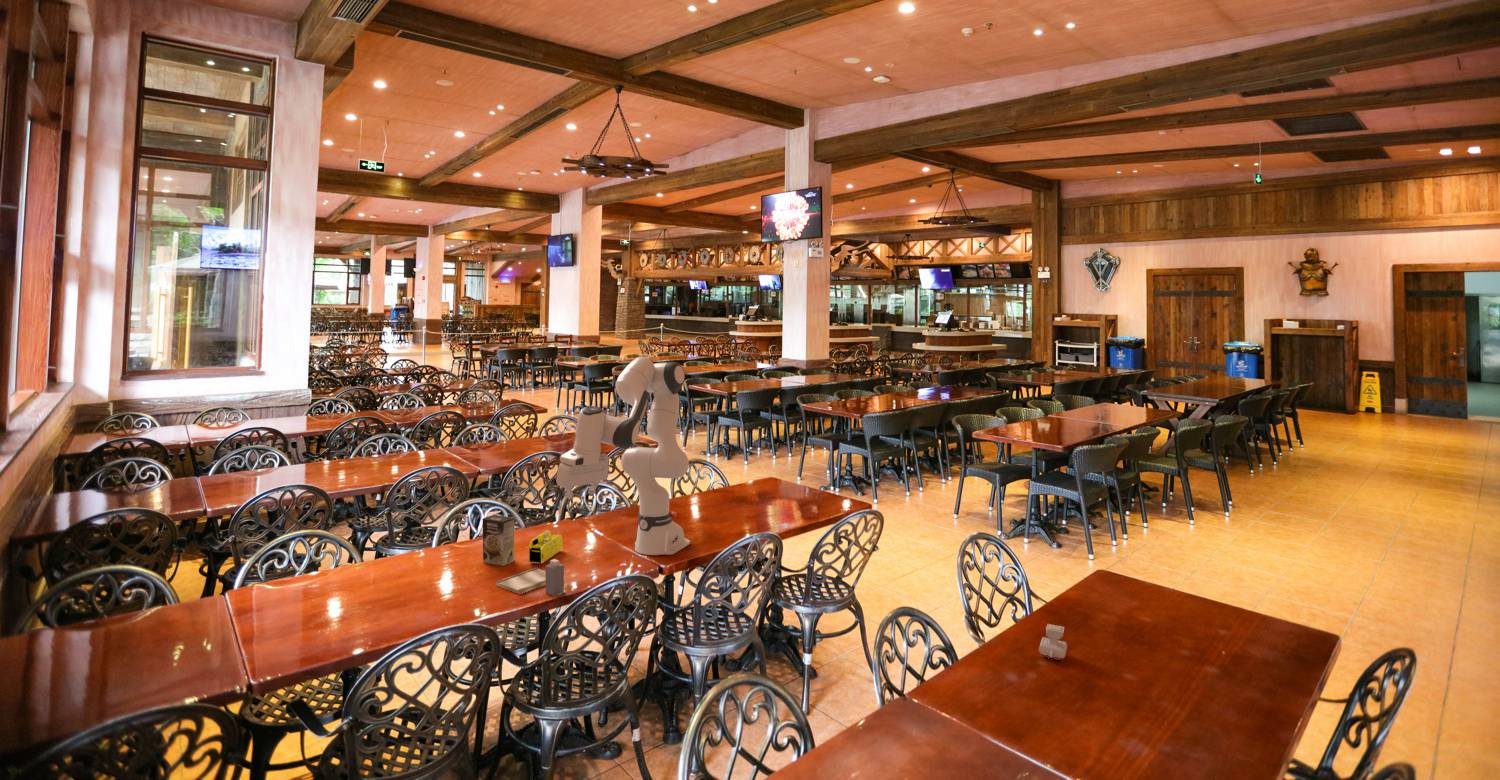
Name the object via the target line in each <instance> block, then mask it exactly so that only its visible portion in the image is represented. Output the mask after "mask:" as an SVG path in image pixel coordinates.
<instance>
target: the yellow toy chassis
mask: <svg viewBox="0 0 1500 780" xmlns="http://www.w3.org/2000/svg"><path fill="white" fill-rule="evenodd" d="M562 550H563V536H562V535H561V534H558V535H557V534H552V533H551V531H550V529H549V530H548V529H547V530H545V531H544V532H542V533H541V534H539V535H538V536H536V537H534V538H533V539H530V542H529V543H528V563H532V564H536V565H537V564H538V565H540V564H543V563H544V562H545V563H546V562H547V561H548V560H549V559H552V558H553V556H556V554H558V553H559V552H561V551H562Z"/></svg>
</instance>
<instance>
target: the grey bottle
mask: <svg viewBox="0 0 1500 780" xmlns="http://www.w3.org/2000/svg"><path fill="white" fill-rule="evenodd" d="M544 566H545V570H544V571H545V573H546V585H545V594H547V593H548V594H547V595H550V594H551V596H553V597H555V596H557V595H560V594H563V593H565V578H564V577H565V572H564V571H565V565H564V564H562V563H560V560H558V559H556V558H553V559H550V560H549V564H547V565H544Z"/></svg>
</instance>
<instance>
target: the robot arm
mask: <svg viewBox="0 0 1500 780" xmlns="http://www.w3.org/2000/svg"><path fill="white" fill-rule="evenodd" d="M685 372H686V371H685V369H684V368H683V366H682V365H681V364H680V363H679V362H675V361H669V362H656V363H654V362H653V361H652V360H651V359H649V358H648V357H645V356H637V357H636V358H634V359H633V360H632V361H631V362H629V363H628V364H627V365H626V366H625V367H624V369H623V370H622V372H621V373H620V374H619V375H618V376H617V379H616V381H615V390H616V393H617V395H618V397H619V398H620V399H621V400H622V401H623V402H625V403H626V404H628V405H630V406H631V407H632V409H631V411H630V414H629V417H628V416H627V417H625V418H623V417H617V416H612V415H609V414H606V413H604V409H603V408H602V407H599V406H594V405H592V406H591V405H590V406H589V405H588V406H585V407H582V408H581V409H580V412H579V413H578V417H577V421H576V426H575V431H574V432H575V440H574V443H573V447H572V449H569V450H568V451H566V452H565V453H562V454H561V455H560V456H559V461H560V462H561V463H560V464H559V465H558V467H557V472H556V473H557V474H556V482H555V483H556V484H557V486H559V487H561V488H564V489H565V492H566V499H568V500H572V499H574V497H575V493H574V492H573V491H572V490H573V489H574V487H576V486H582V485H586V484H591V485H590V487H589V488H588V492H587V493H588V494H589V495H590V496H591V495H594V494H595V493H596V489H597V488H598V486H599V484H600V482H602V481H606V480H607V479H608V478H609V466H610V465H609V464H610V463H609V456H608V454H607V453H606V452H604V453H601V451H602V446H601V445H602V444H606V445H610V446H612V447H613V446H614V447H616V448H619V449H622V450H624V452H623V454H622V455H621V459H620V465H621V469H622V471H624V473H625V474H627V476H629V477H630V478H631V480H632V481H633V483H634V484H635V486H636V488H637V492H638V497H639V498H638V503H639V512H638V515H637V516H638V517H637V521H638V522H637V523H638V526H637V531H636V540H635V541H634V550H635V551H636V552H637V553H638V554H641V555H647V556H660V555H666V556H667V555H668V556H669V555H675V554H676V553H678V552H679V551H680V550H682V549H684V548H685V547H688V546H689V545H690V544H691V540H689V539H688V538H686V537H685V533H684V532H685V531H684V529H683V528H682V526H680V525H679V524H678V523H676V522H675V521H673V518H677V512H676V511H670V494H669V492H668V490H667V489H666V488H665V487H663V486H662V485H661V484H659V483H658V482H657V480H656V478H657V479H659V478H661V479H678V478H682V477H684V476H685V475H686V474H687V472H688V470H689V465H690V462H689V458H688V455H687V454H686V452H685V451H683V450H682V448H681V447H680V445H679V444H678V442H677V435H676V434H677V426H678V425H677V424H678V419H679V414H680V413H679V412H680V397H679V392H681V389H682V387H683V385H684V383H685V379H686V373H685ZM649 393H653V400H652V403H651V406H650V409H649V410H650V411H649V415H648V420H647V425H646V433H647V436H648V437H649V438H650V439H652V440H653V441H655V442H656V443H658V444H657V447H644V446H638V447H633V446H635V445H636V443H637V440H638V437H639V434H640V430H641V426H642V424H643V422H644V418H645V416H646V413H647V410H648V406H649V403H650V395H649ZM601 443H602V444H601ZM672 517H673V518H672Z"/></svg>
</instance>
